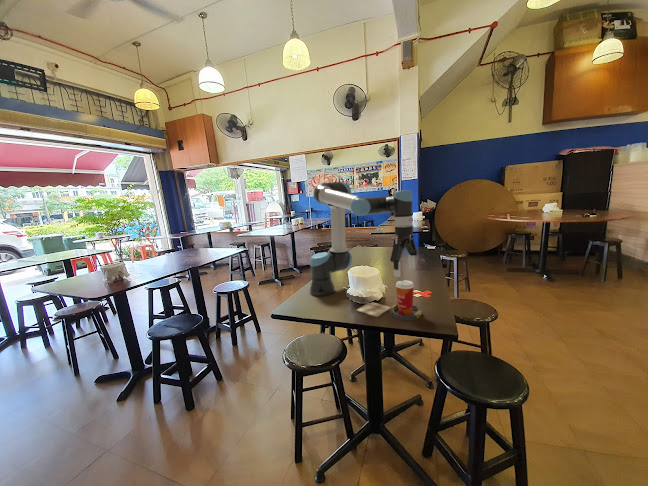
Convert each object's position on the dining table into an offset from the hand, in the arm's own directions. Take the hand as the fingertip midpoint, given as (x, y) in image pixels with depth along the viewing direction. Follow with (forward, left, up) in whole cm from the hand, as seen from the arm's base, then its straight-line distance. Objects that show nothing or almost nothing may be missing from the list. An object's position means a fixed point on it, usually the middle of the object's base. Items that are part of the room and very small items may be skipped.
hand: (404, 272), depth 113 cm
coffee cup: (0, 0, -20) cm, 20 cm away
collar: (0, 0, -20) cm, 20 cm away
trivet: (-14, -5, -20) cm, 25 cm away
